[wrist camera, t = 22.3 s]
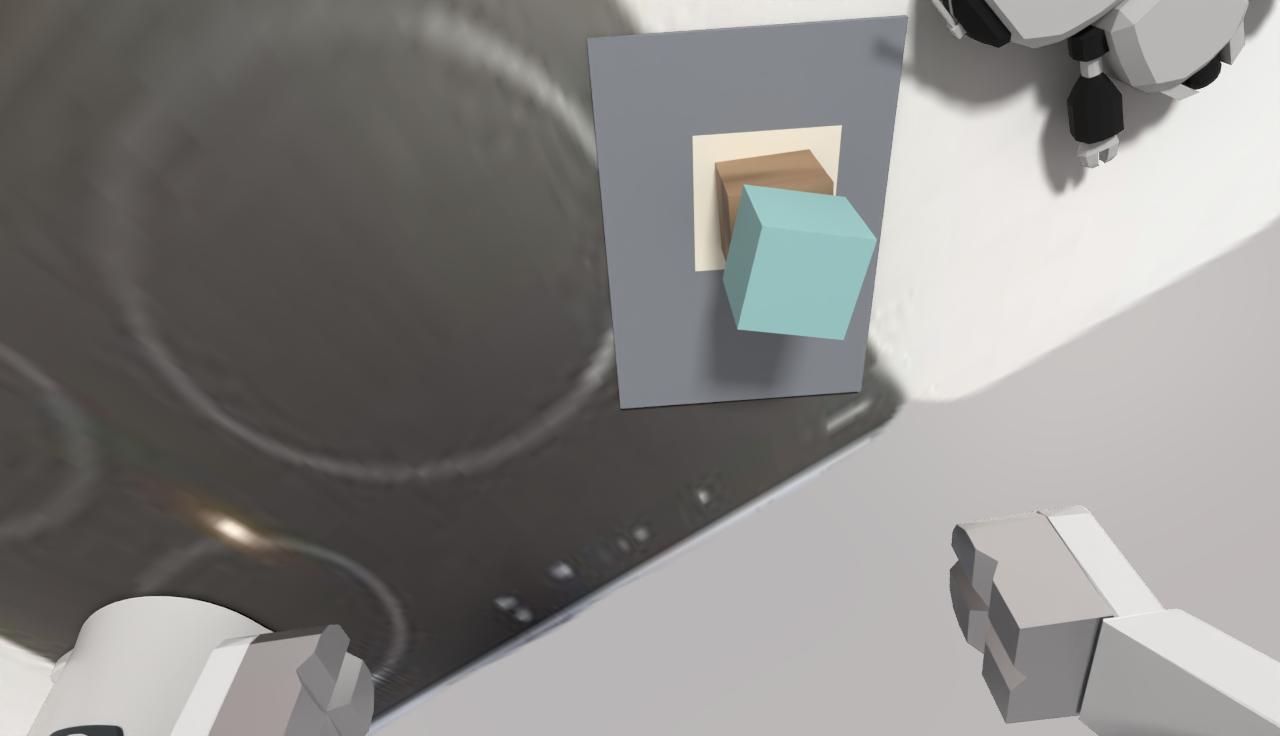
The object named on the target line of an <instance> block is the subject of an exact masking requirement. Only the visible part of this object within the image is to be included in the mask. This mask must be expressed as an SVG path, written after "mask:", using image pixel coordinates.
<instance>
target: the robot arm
mask: <svg viewBox="0 0 1280 736" xmlns="http://www.w3.org/2000/svg"><path fill="white" fill-rule="evenodd" d="M952 547H953V549H954V551H955V553H956V555H957V557H958V559H959V560H958V561H957V562H956V564H955V565H954V566H953V567H952V568H951V569H950V592H951V598H952V603H953V608H954V611H955V614H956V617H957V620H958V623H959V626H960V628H961V630H962V632H963V634H964V637H965V639H966V641H967V643H969V644H970V645H971V646H973V647H974V648H976V649H977V650H979V651H981V652H982V653H983V654H984V659H983V670H982V675H983V677H984V679H985V681H986V683H987V685H988V688H989V690H990V692H991V694H992V696H993V698H994V700H995V702H996V704H997V706H998V708H999V710H1000V712H1001V714H1002V716H1003V718H1004V721H1005V723H1006V724H1007V723H1016V722H1024V721H1034V720H1042V719H1051V718H1060V717H1069V716H1078V715H1079V720H1080V721H1081V722H1083V723H1084V724H1085V725H1086V726H1088V727H1089V728H1090V729H1091V730H1092V731H1094V732H1095V733H1096V734H1098V735H1099V736H1280V663H1279V662H1278V661H1276V660H1274V659H1272V658H1270V657H1268V656H1266V655H1264V654H1263V653H1261V652H1259V651H1257V650H1255V649H1253V648H1252V647H1250V646H1248V645H1246V644H1244V643H1242V642H1240V641H1239V640H1237V639H1235V638H1233V637H1231V636H1229V635H1227V634H1226V633H1224V632H1222V631H1220V630H1218V629H1216V628H1214V627H1213V626H1211V625H1209V624H1207V623H1205V622H1203V621H1201V620H1199V619H1198V618H1196V617H1194V616H1192V615H1190V614H1188V613H1187V612H1185V611H1183V610H1181V609H1179V608H1176V609H1166V610H1165V609H1164V608H1163V606H1162V605H1161V604H1160V602H1159V601H1158V600H1157V599H1156V597H1155V596H1154V595H1153V593H1152V592H1151V591H1150V589H1149V588H1148V587H1147V585H1146V584H1145V583H1144V582H1143V580H1142V579H1141V578H1140V576H1139V575H1138V574H1137V573H1136V571H1135V570H1134V569H1133V568H1132V566H1131V565H1130V563H1129V562H1128V561H1127V560H1126V558H1125V557H1124V556H1123V555H1122V553H1121V552H1120V550H1119V549H1118V548H1117V547H1116V545H1115V544H1114V543H1113V541H1112V540H1111V539H1110V537H1109V536H1108V535H1107V534H1106V532H1105V531H1104V530H1103V528H1102V527H1101V526H1100V525H1099V523H1098V522H1097V521H1096V519H1095V518H1094V517H1093V515H1092V514H1091V513H1090V512H1089V510H1088V509H1086V508H1084V507H1082V506H1081V505H1074V506H1068V507H1061V508H1055V509H1049V510H1043V511H1038V512H1027V513H1021V514H1015V515H1010V516H1004V517H998V518H992V519H986V520H981V521H974V522H969V523H963V524H957V525H956V526H955V528H954V530H953V535H952ZM349 641H350V639H349V638H348V636H347V635H346V634H345V632H344V631H343V629H342V628H341V627H340V625H326V626H319V627H311V628H303V629H296V630H288V631H280V632H272V631H270V630H268V629H266V628H264V627H263V626H261V625H259V624H258V623H256V622H254V621H252V620H251V619H249V618H247V617H245V616H243V615H241V614H239V613H237V612H234V611H232V610H229V609H227V608H224V607H221V606H218V605H215V604H211V603H207V602H204V601H199V600H194V599H188V598H181V597H171V596H146V597H137V598H130V599H126V600H122V601H118V602H115V603H112V604H110V605H107V606H105V607H103V608H101V609H99V610H98V611H96V612H95V613H94V614H92V615H91V616H90V617H89V618H88V619H87V620H86V622H85V623H84V625H83V626H82V628H81V631H80V633H79V636H78V639H77V642H76V644H75V646H74V649H72V650H71V651H69V652H68V653H66V654H65V655H63V656H62V657H61V658H60V659H59V660H58V661H57V663H56V665H55V667H54V668H53V670H52V672H51V674H50V678H51V680H52V681H53V682H54V685H53V687H52V689H51V691H50V693H49V695H48V696H47V698H46V700H45V702H44V704H43V706H42V708H41V709H40V711H39V713H38V715H37V717H36V719H35V720H34V722H33V724H32V726H31V728H30V730H29V732H28V734H27V736H365V735H366V733H367V732H368V731H369V727H370V723H371V719H372V715H373V711H374V685H373V682H372V678H371V674H370V671H369V670H368V668H367V666H366V665H365V663H364V661H363V660H361V659H359V658H357V657H355V656H353V655H351V654H349V653H347V652H346V651H347V647H348V644H349Z"/></svg>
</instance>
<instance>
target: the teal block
mask: <svg viewBox="0 0 1280 736" xmlns="http://www.w3.org/2000/svg"><path fill="white" fill-rule="evenodd" d="M876 242H877V239H876V237H875V236H874V235H873V233H872V232H871V231H870V229H869V228H868V227H867V225H866V224H865V223H864V221H863V220H862V219H861V217H860V216H859V215H858V213H857V212H856V211H855V209H854V208H853V206H852V205H851V204H850V202H849V201H848V200H847V198H846V197H842V196H834V195H826V194H818V193H810V192H802V191H793V190H785V189H777V188H769V187H761V186H753V185H745V184H743V189H742V193H741V198H740V202H739V207H738V211H737V216H736V220H735V225H734V229H733V234H732V238H731V243H730V247H729V252H728V256H727V261H726V265H725V270H724V274H723V283H724V286H725V290H726V293H727V296H728V300H729V303H730V306H731V310H732V313H733V317H734V320H735V323H736V327H737V329H738V330H748V331H758V332H768V333H778V334H788V335H798V336H808V337H818V338H827V339H837V340H844V337H845V334H846V331H847V328H848V325H849V322H850V319H851V316H852V313H853V310H854V307H855V304H856V301H857V298H858V296H859V293H860V290H861V287H862V284H863V281H864V278H865V275H866V272H867V269H868V266H869V263H870V260H871V257H872V254H873V251H874V248H875V245H876Z"/></svg>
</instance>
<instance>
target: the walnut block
mask: <svg viewBox="0 0 1280 736" xmlns="http://www.w3.org/2000/svg"><path fill="white" fill-rule="evenodd" d="M715 169H716V182H717V195H718V208H719V222H720V235H721V248H722V252H723V255H724V258H725V261H727V256H728V252H729V247H730V243H731V238H732V234H733V229H734V225H735V220H736V216H737V211H738V207H739V202H740V198H741V193H742V189H743V184H745V185H753V186H761V187H769V188H777V189H785V190H793V191H802V192H810V193H818V194H826V195H833V188H834V182H833V180H832V179H831V178H830V176H829V175H828V174H827V172H826V171H825V170H824V168H823V167H822V166H821V164H820V163H819V162H818V160H817V159H816V158H815V156H814V155H813V154H812V152H811V151H810V149H807V150H800V151H793V152H786V153H779V154H772V155H765V156H758V157H750V158H743V159H736V160H729V161H722V162H715Z"/></svg>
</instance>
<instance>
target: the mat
mask: <svg viewBox="0 0 1280 736" xmlns="http://www.w3.org/2000/svg"><path fill="white" fill-rule="evenodd" d="M907 21H908V17H907V16H905V15H903V16H889V17H875V18H861V19H847V20H833V21H819V22H805V23H791V24H777V25H762V26H748V27H734V28H720V29H706V30H692V31H678V32H664V33H650V34H636V35H622V36H608V37H594V38H587V45H588V56H589V67H590V78H591V89H592V100H593V111H594V122H595V133H596V144H597V155H598V166H599V177H600V188H601V199H602V210H603V221H604V232H605V243H606V254H607V265H608V276H609V287H610V298H611V309H612V320H613V331H614V342H615V353H616V364H617V375H618V386H619V397H620V408H621V409H624V408H638V407H651V406H665V405H679V404H693V403H706V402H720V401H734V400H747V399H761V398H775V397H789V396H802V395H816V394H830V393H843V392H857V391H861V386H862V378H863V370H864V362H865V354H866V346H867V338H868V330H869V322H870V314H871V306H872V299H873V291H874V283H875V275H876V267H877V259H878V251H879V243H880V235H881V227H882V219H883V211H884V203H885V195H886V187H887V180H888V172H889V164H890V156H891V148H892V140H893V132H894V124H895V116H896V108H897V100H898V92H899V84H900V76H901V68H902V61H903V53H904V45H905V37H906V29H907ZM807 149H810V151H811V152H812V154H813V155H814V156H815V158H816V159H817V160H818V162H819V163H820V164H821V166H822V167H823V168H824V170H825V171H826V172H827V174H828V175H829V176H830V178H831V179H832V180H833V182H834V188H833V195H834V196H842V197H846V198H847V200H848V201H849V202H850V204H851V205H852V206H853V208H854V209H855V211H856V212H857V213H858V215H859V216H860V217H861V219H862V220H863V221H864V223H865V224H866V225H867V227H868V228H869V229H870V231H871V232H872V233H873V235H874V236H875V237H876V239H877V242H876V245H875V248H874V251H873V254H872V257H871V260H870V263H869V266H868V269H867V272H866V275H865V278H864V281H863V284H862V287H861V290H860V293H859V296H858V298H857V301H856V304H855V307H854V310H853V313H852V316H851V319H850V322H849V325H848V328H847V331H846V334H845V337H844V340H837V339H827V338H818V337H808V336H798V335H788V334H778V333H768V332H758V331H748V330H738V329H737V327H736V323H735V320H734V317H733V313H732V310H731V306H730V303H729V300H728V296H727V293H726V290H725V286H724V283H723V274H724V270H725V265H726V261H725V258H724V255H723V252H722V248H721V235H720V222H719V208H718V195H717V182H716V169H715V162H722V161H729V160H736V159H743V158H750V157H758V156H765V155H772V154H779V153H786V152H793V151H800V150H807Z"/></svg>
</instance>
